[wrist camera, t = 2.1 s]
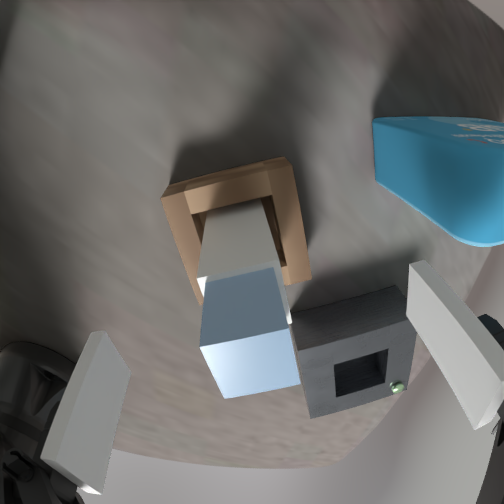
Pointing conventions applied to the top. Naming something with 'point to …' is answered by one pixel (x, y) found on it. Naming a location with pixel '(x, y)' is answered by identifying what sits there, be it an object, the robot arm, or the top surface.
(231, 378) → the plug
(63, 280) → the top surface
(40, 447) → the robot arm
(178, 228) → the frame
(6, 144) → the top surface
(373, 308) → the port
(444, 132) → the data package
